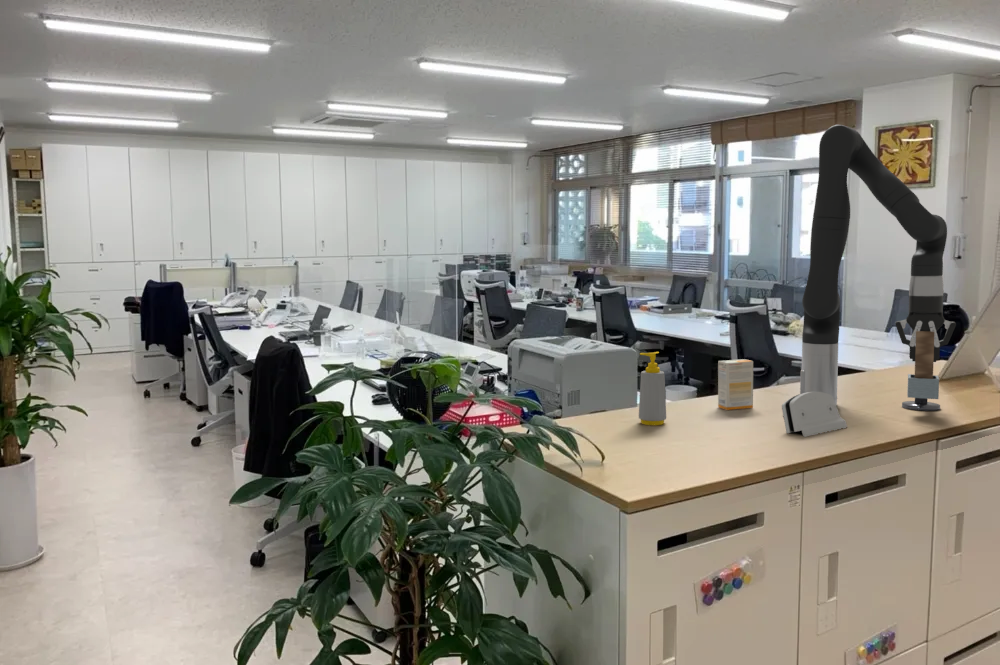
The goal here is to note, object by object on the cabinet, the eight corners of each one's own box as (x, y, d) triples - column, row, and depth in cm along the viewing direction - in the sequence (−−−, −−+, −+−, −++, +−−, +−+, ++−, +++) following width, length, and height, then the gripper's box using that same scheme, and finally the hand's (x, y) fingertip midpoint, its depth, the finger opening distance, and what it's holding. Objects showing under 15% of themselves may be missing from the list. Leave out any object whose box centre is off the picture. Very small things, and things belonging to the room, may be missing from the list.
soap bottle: (633, 421, 194) (633, 351, 192) (657, 419, 196) (658, 350, 194) (646, 427, 187) (646, 354, 185) (671, 424, 189) (672, 353, 187)
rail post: (914, 378, 193) (916, 331, 192) (914, 376, 197) (915, 329, 196) (932, 379, 192) (934, 331, 191) (932, 376, 195) (933, 330, 194)
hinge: (804, 436, 174) (792, 394, 176) (787, 440, 178) (776, 398, 180) (848, 427, 183) (836, 386, 185) (831, 430, 187) (820, 390, 189)
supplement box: (743, 405, 212) (744, 358, 211) (753, 408, 208) (754, 360, 207) (717, 407, 210) (717, 360, 209) (726, 410, 206) (727, 362, 204)
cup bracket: (901, 416, 194) (903, 362, 193) (901, 403, 211) (903, 353, 210) (942, 419, 190) (944, 363, 189) (939, 406, 207) (941, 354, 206)
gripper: (957, 293, 192) (955, 360, 194) (894, 293, 199) (892, 358, 201) (959, 294, 186) (957, 364, 187) (894, 294, 192) (892, 362, 194)
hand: (923, 361), depth 194 cm, fingers closed on rail post, 4 cm apart
